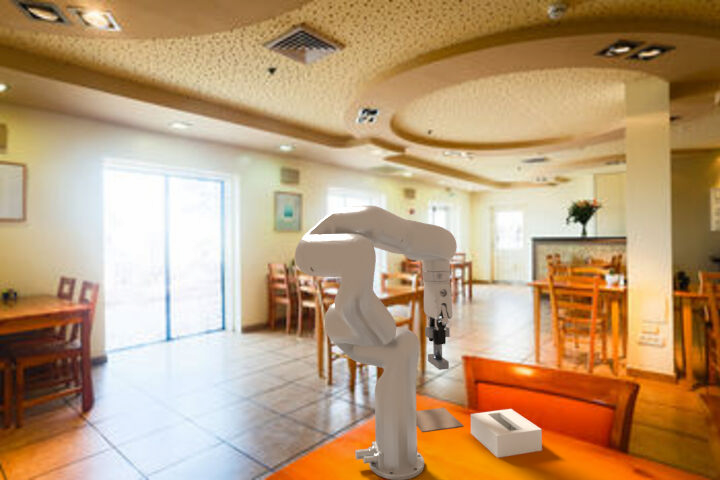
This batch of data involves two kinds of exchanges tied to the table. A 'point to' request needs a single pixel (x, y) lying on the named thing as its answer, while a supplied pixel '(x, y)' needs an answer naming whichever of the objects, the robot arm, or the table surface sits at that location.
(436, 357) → the t key
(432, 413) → the grey flat square plate
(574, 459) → the table surface
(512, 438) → the block
